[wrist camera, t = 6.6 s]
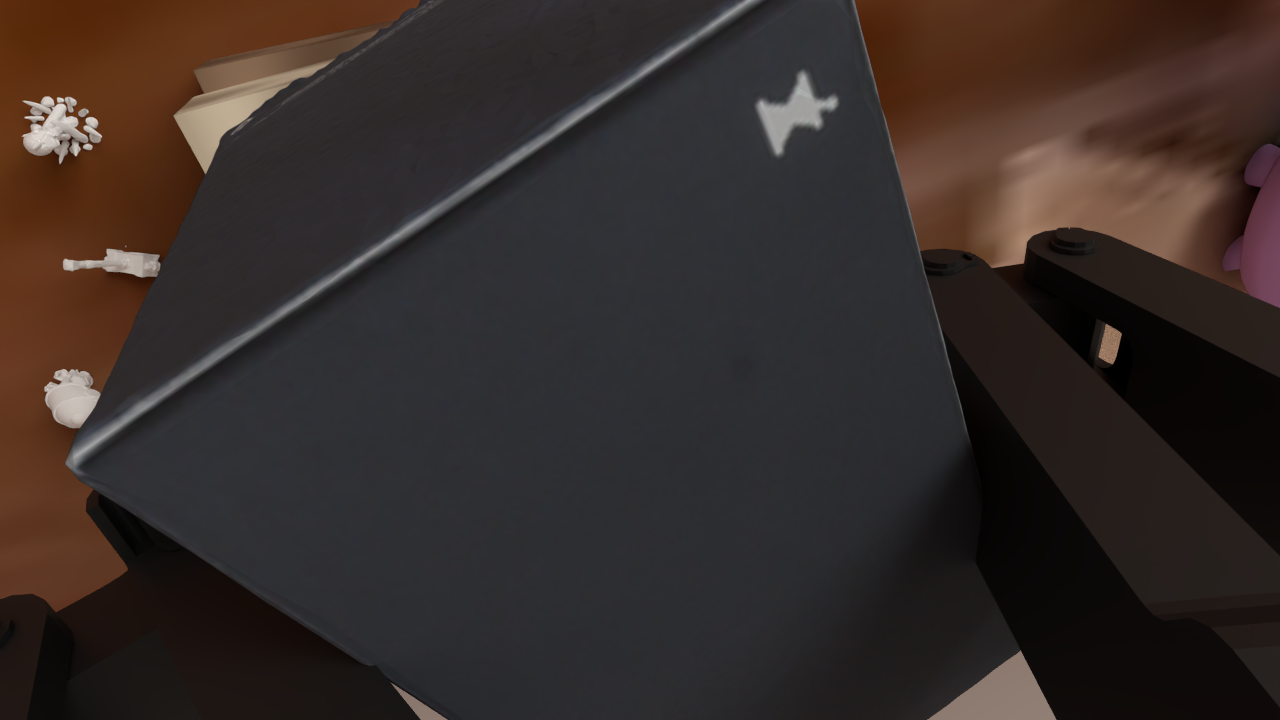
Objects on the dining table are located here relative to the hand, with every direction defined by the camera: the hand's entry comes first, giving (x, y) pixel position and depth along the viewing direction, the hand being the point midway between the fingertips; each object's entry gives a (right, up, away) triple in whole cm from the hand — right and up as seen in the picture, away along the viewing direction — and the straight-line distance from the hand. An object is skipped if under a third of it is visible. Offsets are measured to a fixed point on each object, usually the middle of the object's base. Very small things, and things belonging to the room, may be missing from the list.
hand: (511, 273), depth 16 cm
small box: (0, 0, 0) cm, 0 cm away
